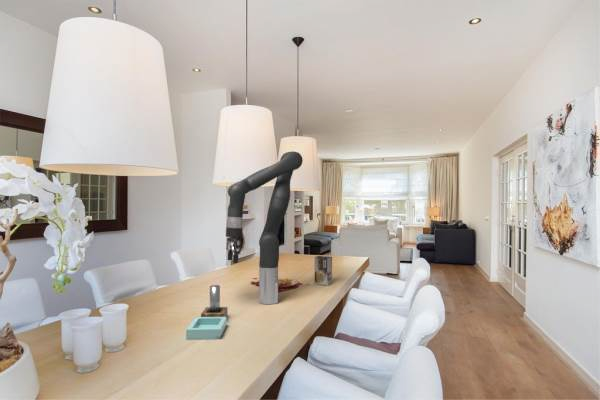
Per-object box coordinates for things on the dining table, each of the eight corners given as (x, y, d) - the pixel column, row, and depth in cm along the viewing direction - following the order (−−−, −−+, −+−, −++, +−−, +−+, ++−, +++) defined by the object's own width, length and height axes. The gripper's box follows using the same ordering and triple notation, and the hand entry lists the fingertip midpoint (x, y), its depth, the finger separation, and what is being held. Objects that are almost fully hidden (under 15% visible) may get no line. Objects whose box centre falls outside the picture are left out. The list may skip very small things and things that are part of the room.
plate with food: (278, 294, 183) (278, 287, 183) (249, 284, 202) (249, 278, 202) (310, 287, 200) (310, 281, 200) (280, 278, 219) (281, 272, 219)
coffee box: (332, 283, 204) (332, 256, 204) (327, 285, 198) (327, 258, 198) (319, 281, 209) (319, 255, 209) (313, 283, 203) (314, 256, 203)
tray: (226, 325, 134) (226, 316, 134) (220, 339, 121) (220, 329, 121) (195, 326, 133) (195, 317, 133) (186, 339, 120) (186, 329, 120)
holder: (227, 316, 145) (227, 306, 145) (223, 323, 136) (223, 313, 136) (206, 316, 145) (206, 307, 145) (200, 324, 136) (201, 314, 136)
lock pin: (220, 318, 142) (220, 285, 142) (218, 321, 138) (218, 287, 138) (210, 318, 142) (211, 285, 142) (208, 321, 138) (208, 287, 138)
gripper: (247, 228, 153) (245, 264, 153) (237, 225, 166) (235, 259, 165) (231, 227, 150) (229, 264, 149) (222, 225, 162) (220, 259, 162)
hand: (232, 261), depth 157 cm, fingers open, 8 cm apart
